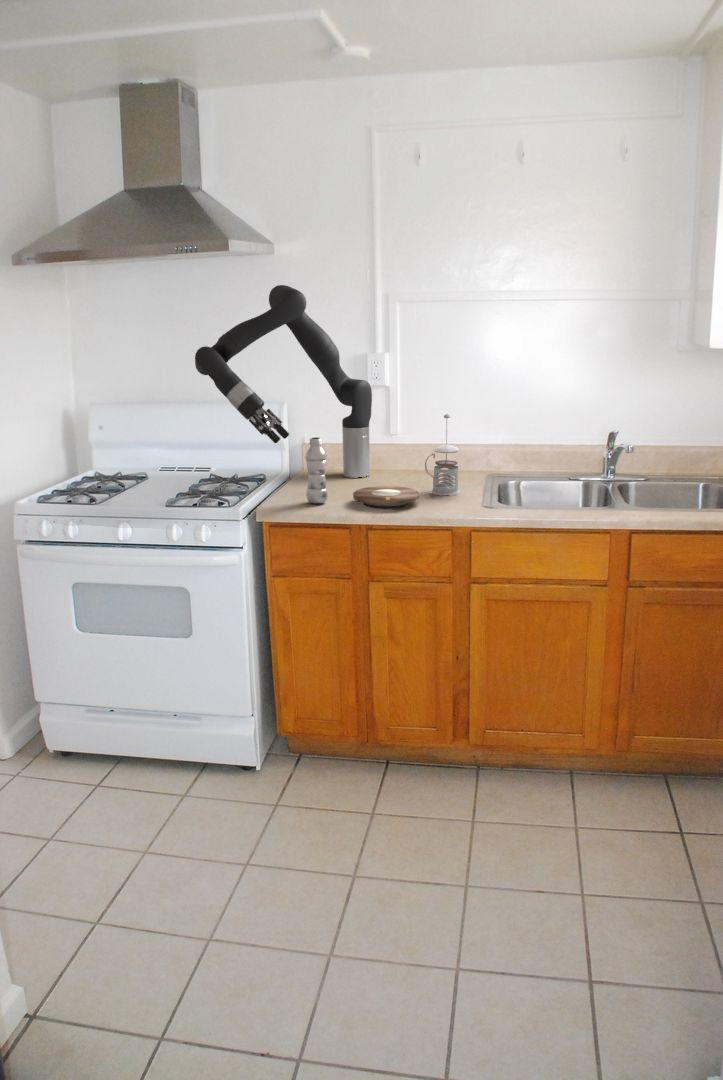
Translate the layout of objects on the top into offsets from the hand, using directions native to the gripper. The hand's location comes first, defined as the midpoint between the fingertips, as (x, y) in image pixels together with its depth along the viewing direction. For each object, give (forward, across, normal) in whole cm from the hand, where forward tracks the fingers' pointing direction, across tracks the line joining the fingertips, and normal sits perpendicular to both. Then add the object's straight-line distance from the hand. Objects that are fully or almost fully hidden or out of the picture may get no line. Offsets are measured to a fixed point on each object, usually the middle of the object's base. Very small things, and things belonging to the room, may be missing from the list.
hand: (282, 439), depth 268 cm
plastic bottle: (+21, 0, +7) cm, 22 cm away
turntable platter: (+34, +4, -10) cm, 36 cm away
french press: (+46, +22, -18) cm, 55 cm away
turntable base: (+36, +4, -8) cm, 37 cm away
